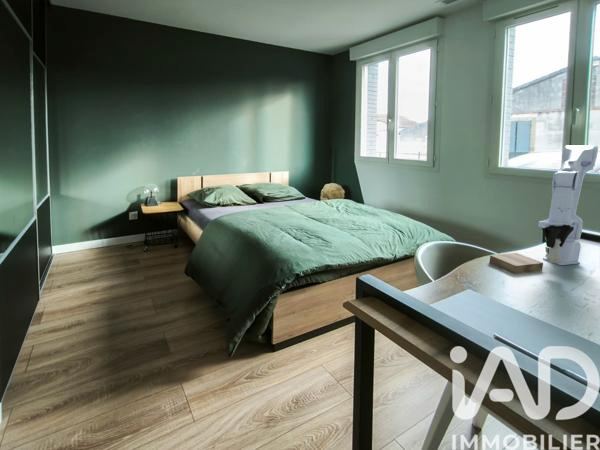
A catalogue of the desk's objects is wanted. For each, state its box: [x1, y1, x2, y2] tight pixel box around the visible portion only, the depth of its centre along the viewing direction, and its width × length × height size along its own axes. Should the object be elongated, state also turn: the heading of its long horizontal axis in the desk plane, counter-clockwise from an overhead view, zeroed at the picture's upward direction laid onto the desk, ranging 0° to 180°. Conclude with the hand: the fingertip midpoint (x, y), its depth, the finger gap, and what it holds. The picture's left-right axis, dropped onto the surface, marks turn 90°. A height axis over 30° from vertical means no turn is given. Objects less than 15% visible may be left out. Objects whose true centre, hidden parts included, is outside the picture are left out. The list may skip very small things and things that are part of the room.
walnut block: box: [489, 252, 544, 275], centre depth 135 cm, size 12×12×3 cm
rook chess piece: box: [545, 238, 561, 264], centre depth 125 cm, size 4×4×8 cm
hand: (554, 246), depth 125 cm, fingers closed on rook chess piece, 3 cm apart
